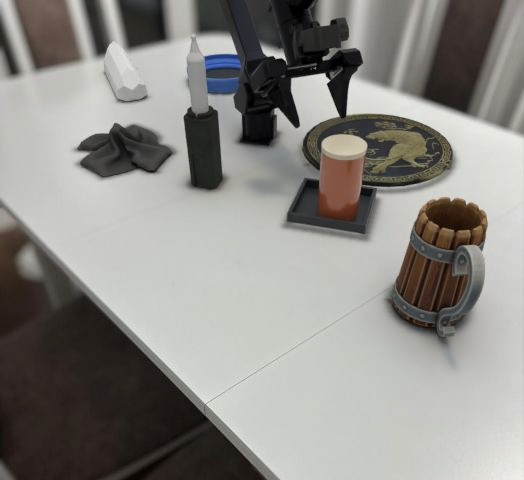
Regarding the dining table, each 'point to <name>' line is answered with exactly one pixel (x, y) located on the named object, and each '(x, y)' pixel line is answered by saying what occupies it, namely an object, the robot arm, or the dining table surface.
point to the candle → (201, 126)
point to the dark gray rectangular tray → (307, 214)
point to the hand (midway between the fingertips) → (321, 122)
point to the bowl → (222, 72)
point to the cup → (341, 176)
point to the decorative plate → (387, 148)
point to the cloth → (123, 150)
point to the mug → (442, 265)
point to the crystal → (123, 74)
